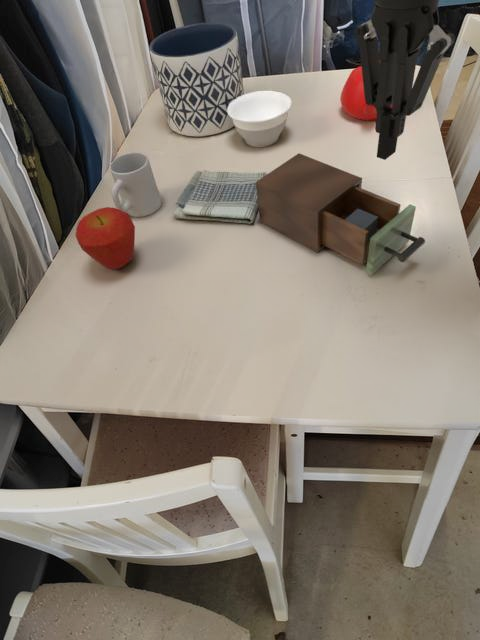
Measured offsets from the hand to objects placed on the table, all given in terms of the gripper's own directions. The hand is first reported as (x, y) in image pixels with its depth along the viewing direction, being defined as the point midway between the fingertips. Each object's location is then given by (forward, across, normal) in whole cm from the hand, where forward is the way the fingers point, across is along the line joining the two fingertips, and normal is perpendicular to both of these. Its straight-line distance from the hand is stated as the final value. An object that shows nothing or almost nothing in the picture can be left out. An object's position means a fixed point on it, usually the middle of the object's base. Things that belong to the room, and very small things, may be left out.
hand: (386, 154), depth 67 cm
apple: (+20, -38, -33) cm, 54 cm away
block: (+18, -4, 0) cm, 18 cm away
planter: (+20, -69, +19) cm, 74 cm away
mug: (+20, -49, -19) cm, 57 cm away
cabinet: (+20, -16, 0) cm, 26 cm away
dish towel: (+20, -36, -5) cm, 42 cm away
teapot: (+20, -32, +45) cm, 59 cm away
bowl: (+20, -48, +19) cm, 55 cm away
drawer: (+19, -2, 0) cm, 19 cm away
